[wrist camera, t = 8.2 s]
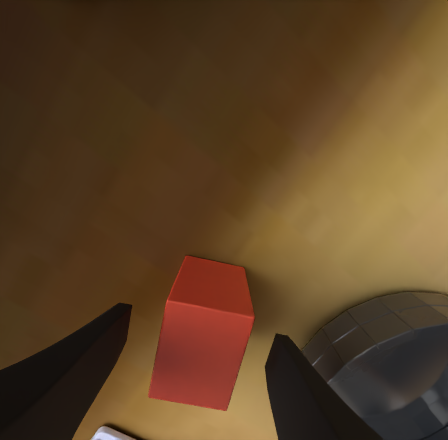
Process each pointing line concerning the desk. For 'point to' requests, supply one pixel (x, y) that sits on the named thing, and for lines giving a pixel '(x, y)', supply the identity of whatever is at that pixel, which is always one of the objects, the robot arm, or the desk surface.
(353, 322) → the bowl
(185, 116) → the desk surface
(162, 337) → the red block
